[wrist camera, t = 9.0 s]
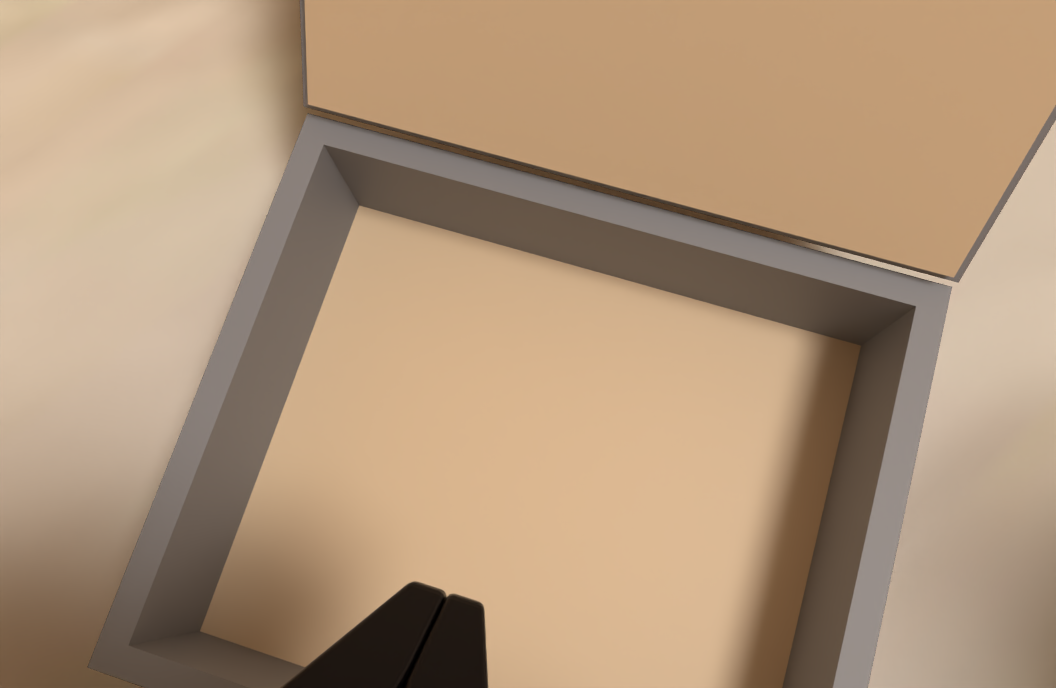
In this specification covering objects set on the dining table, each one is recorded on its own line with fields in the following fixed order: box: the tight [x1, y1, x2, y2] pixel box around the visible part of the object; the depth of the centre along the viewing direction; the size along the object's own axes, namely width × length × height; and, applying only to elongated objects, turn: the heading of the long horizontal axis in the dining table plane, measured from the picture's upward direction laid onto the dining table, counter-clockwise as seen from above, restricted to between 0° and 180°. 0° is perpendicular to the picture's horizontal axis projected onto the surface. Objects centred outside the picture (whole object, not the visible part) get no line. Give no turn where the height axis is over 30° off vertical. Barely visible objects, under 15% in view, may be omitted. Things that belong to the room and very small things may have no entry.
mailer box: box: [87, 113, 952, 688], centre depth 19 cm, size 12×14×4 cm
